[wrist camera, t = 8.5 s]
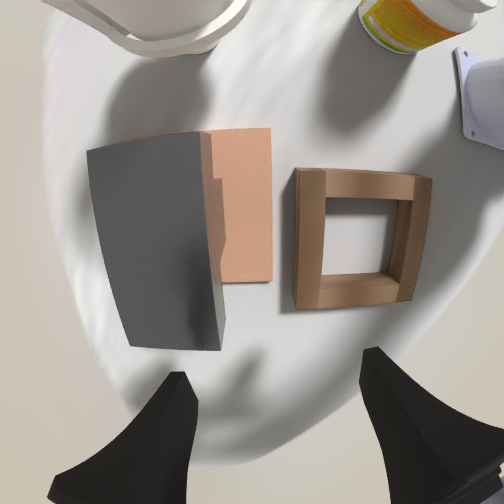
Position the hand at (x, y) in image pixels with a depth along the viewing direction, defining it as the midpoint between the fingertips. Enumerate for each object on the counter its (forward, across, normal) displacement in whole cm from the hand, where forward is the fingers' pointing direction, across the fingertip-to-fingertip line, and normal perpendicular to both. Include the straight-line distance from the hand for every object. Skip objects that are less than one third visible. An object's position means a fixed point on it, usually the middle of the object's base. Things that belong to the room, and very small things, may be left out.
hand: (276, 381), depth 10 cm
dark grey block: (+9, +4, -5) cm, 11 cm away
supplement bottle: (+10, -12, -17) cm, 23 cm away
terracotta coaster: (+10, +4, -5) cm, 12 cm away
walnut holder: (+10, -7, -2) cm, 12 cm away
